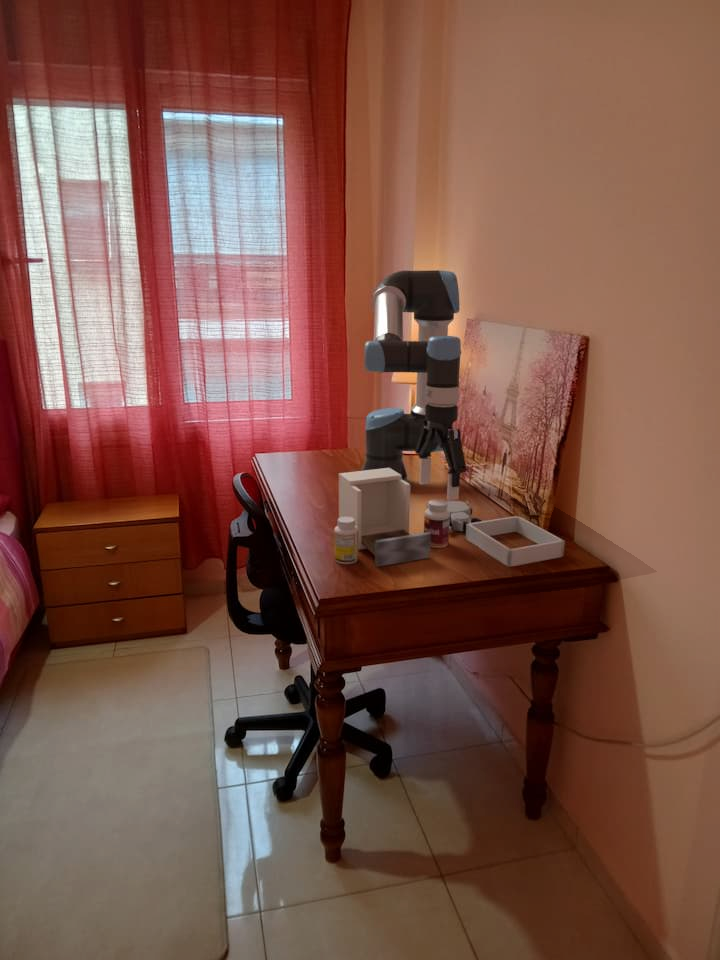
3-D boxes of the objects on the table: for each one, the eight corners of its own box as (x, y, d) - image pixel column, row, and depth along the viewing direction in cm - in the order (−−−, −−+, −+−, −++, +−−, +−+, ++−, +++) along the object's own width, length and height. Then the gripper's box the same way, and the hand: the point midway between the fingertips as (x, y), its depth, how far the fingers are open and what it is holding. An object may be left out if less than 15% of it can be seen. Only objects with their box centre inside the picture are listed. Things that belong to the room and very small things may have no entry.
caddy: (388, 525, 181) (389, 467, 176) (408, 541, 171) (410, 480, 166) (339, 532, 176) (338, 473, 171) (357, 550, 165) (357, 487, 161)
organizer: (516, 530, 179) (517, 515, 177) (563, 556, 162) (564, 541, 161) (465, 538, 173) (466, 523, 171) (508, 567, 156) (509, 550, 155)
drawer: (407, 539, 171) (407, 517, 169) (429, 557, 160) (430, 533, 159) (357, 547, 166) (357, 524, 164) (377, 566, 155) (377, 542, 154)
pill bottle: (418, 544, 169) (419, 502, 166) (432, 537, 173) (434, 496, 170) (438, 551, 165) (440, 508, 162) (453, 543, 169) (455, 501, 166)
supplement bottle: (345, 553, 163) (345, 513, 160) (363, 559, 160) (363, 519, 157) (329, 560, 159) (329, 519, 156) (347, 567, 156) (347, 525, 153)
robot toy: (487, 535, 177) (465, 512, 191) (489, 520, 176) (466, 497, 189) (443, 540, 174) (423, 516, 188) (444, 524, 173) (424, 501, 186)
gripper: (403, 396, 168) (401, 479, 174) (455, 414, 146) (451, 508, 152) (430, 394, 171) (427, 476, 177) (485, 412, 149) (479, 504, 155)
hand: (438, 491), depth 165 cm, fingers open, 13 cm apart
